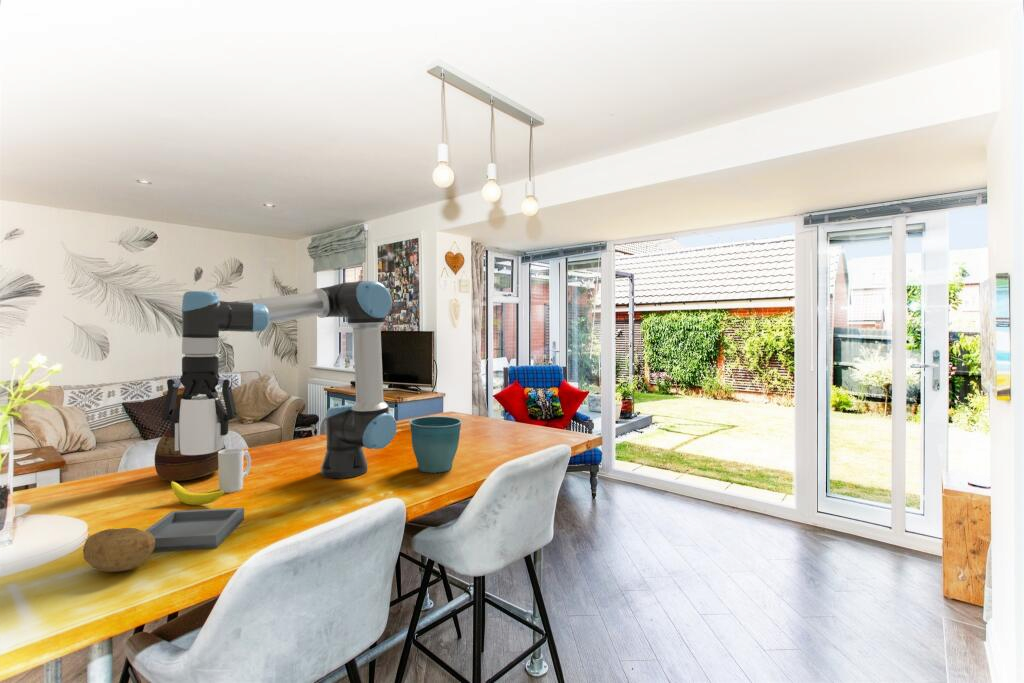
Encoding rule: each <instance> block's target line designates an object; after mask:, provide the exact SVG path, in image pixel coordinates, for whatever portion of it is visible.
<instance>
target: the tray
mask: <svg viewBox="0 0 1024 683" xmlns="http://www.w3.org/2000/svg"><path fill="white" fill-rule="evenodd" d="M244 520H245V507H230V508H227V507H226V508H212V509H211V508H207V509H206V508H205V509H190V510H189V509H188V510H172V511H171V512H169V513H168V514H165V516H163V517H162V518H161V519H159V520H158V521H157V522H155V523H154V524H152V525H150V526H149V527H148V528H147V529H145V530H144V531H147V532H150V533H151V534H152V535H153V536H154V539H155V547H154V550H153V551H152V553H156V552H158V553H159V552H171V551H172V552H173V551H188V550H204V549H205V550H206V549H207V550H208V549H217V548H218V547H219V546H220V545H221V544H222V543H223V542H224V541H225V540H226V539H227V537H229V536H230V534H231V533H233V531H234V530H236V528H237V527H238V526H239V525H240V524H241V523H242V522H243V521H244Z"/></svg>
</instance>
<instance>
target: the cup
mask: <svg viewBox="0 0 1024 683" xmlns="http://www.w3.org/2000/svg"><path fill="white" fill-rule="evenodd" d="M219 398H220V397H219ZM219 398H215V399H216V400H218V399H219ZM215 399H209V398H207V396H206V395H197V396H195V397H192V398H191V400H185V399H181V404H180V417H179V435H180V452H181V454H182V455H202V454H209V453H213V452H216V451H218V450H216V423H218V422H219V421H220V420H219V418H218V416H217V414H216V408H215Z"/></svg>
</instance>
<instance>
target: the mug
mask: <svg viewBox="0 0 1024 683" xmlns="http://www.w3.org/2000/svg"><path fill="white" fill-rule="evenodd" d="M244 457H245V458H246V466H245V469H244ZM251 465H252V459H251V456H250V453H249V450H248V449H246V450H244V448H241V447H233V448H226V449H224V450H221V451H219V452H218V467H219V469H218V487H219V491H225V493H224V494H229V493H231V494H232V493H237V492H239V491H241V490H243V487H244V478H245V477H248V475H249V472H250V470H251Z"/></svg>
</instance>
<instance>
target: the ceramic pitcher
mask: <svg viewBox="0 0 1024 683" xmlns="http://www.w3.org/2000/svg"><path fill="white" fill-rule="evenodd" d="M184 390H185V387H184V386H183V387H179V388H178V394H177V398H176V403H175V407H174V411H175V409H176V407H177V405H178V403H179V402H180V400H181V398H182V394H183V392H184ZM167 392H168V390H166V391H163V392H162V395H163V396H164V397H165V398H166V396H167ZM195 396H199V394H194V396H193V397H195ZM173 413H174V412H173ZM224 449H227V448H226V444H225V443H224V448H222V449H220V450H218V451H216V452H213V453H209V454H202V455H182V454H181V452H180V450H178V451H175V436H172V435H171V426H170V427H168V428H167V429H166V430H165V432H164V433H163V435H161V437H160V438H159V440H158V443H157V444H156V448H155V452H154V467H155V468H154V469H155V471H156V474H157V475H158V477H159V478H160V479H162V480H164V481H169V482H170V480H173V482H176V481H180V482H181V481H188V480H189V481H190V480H194V479H197V478H201V477H204V476H207V475H210V474H213V473H215V472H217V471H219V467H218V452H219V451H221V450H224Z"/></svg>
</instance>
